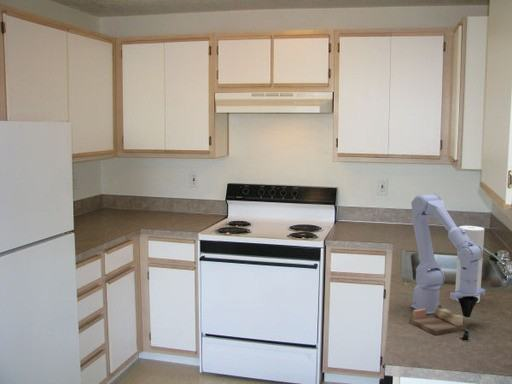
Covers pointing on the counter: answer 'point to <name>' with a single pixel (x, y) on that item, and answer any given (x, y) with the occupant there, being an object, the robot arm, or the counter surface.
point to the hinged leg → (448, 315)
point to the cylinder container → (478, 238)
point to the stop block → (419, 313)
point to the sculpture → (465, 336)
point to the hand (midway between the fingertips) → (466, 316)
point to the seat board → (436, 325)
